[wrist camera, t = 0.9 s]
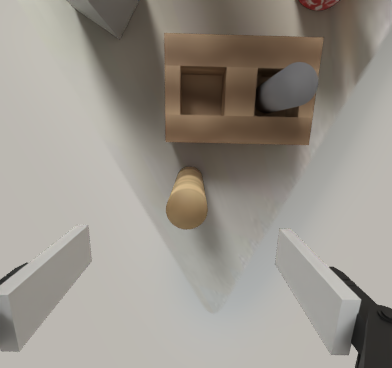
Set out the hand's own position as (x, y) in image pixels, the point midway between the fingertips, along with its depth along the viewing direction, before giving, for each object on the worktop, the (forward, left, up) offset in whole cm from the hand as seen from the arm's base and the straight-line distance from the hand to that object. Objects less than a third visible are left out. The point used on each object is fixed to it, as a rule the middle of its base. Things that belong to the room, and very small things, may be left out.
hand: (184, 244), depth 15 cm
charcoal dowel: (-12, +10, -18) cm, 24 cm away
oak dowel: (0, 0, -20) cm, 20 cm away
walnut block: (-12, +6, -20) cm, 24 cm away
